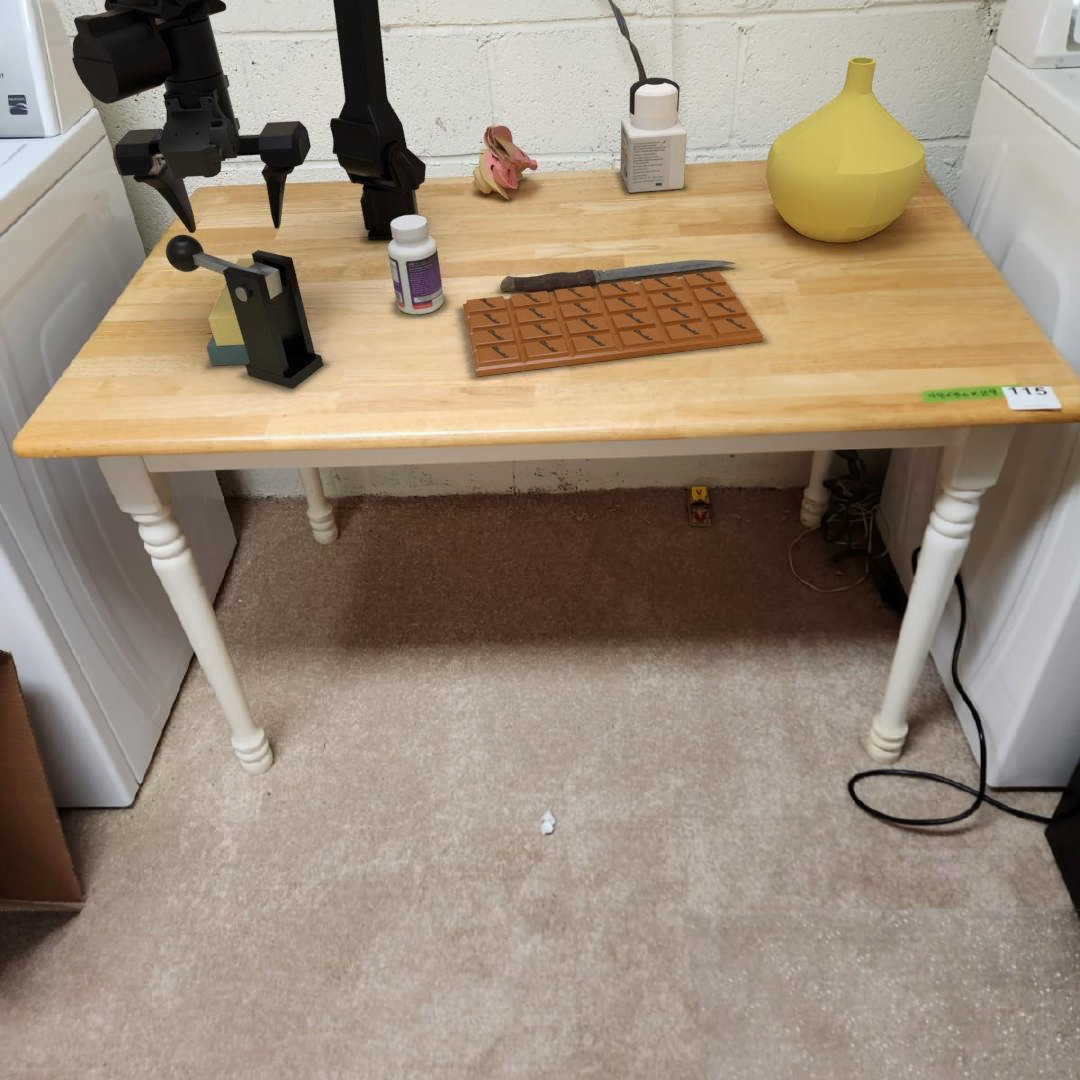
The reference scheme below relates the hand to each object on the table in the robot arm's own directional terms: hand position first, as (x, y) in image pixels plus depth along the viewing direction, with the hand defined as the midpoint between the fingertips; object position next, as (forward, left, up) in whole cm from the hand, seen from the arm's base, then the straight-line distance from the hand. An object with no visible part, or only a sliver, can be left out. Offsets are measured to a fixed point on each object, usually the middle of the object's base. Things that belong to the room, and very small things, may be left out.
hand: (235, 229), depth 99 cm
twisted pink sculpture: (-29, -33, -10) cm, 45 cm away
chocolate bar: (-40, +7, -10) cm, 41 cm away
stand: (-6, +13, -10) cm, 17 cm away
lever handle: (-1, +10, -1) cm, 11 cm away
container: (-49, -33, -10) cm, 60 cm away
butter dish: (0, +4, -10) cm, 11 cm away
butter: (0, +4, -8) cm, 9 cm away
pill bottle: (-19, 0, -10) cm, 21 cm away
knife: (-42, -4, -10) cm, 43 cm away
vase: (-70, -15, -10) cm, 72 cm away
